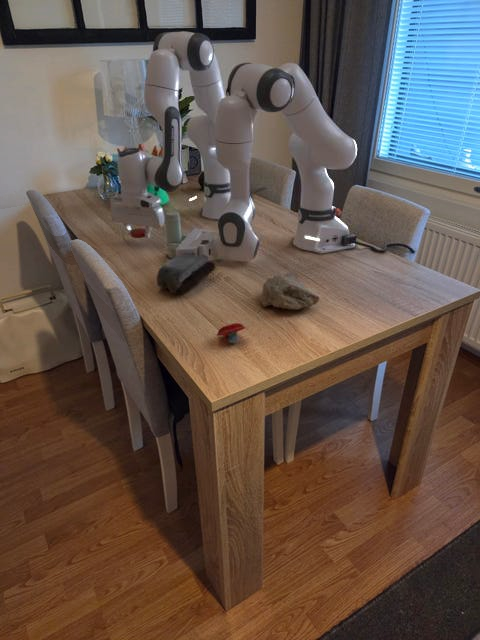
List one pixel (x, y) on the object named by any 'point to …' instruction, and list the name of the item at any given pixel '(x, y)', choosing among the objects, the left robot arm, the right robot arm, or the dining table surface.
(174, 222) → the jar
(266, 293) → the rough grey stone
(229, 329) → the red toy mushroom
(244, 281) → the dining table surface
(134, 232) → the lid
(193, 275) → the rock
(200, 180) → the toy
